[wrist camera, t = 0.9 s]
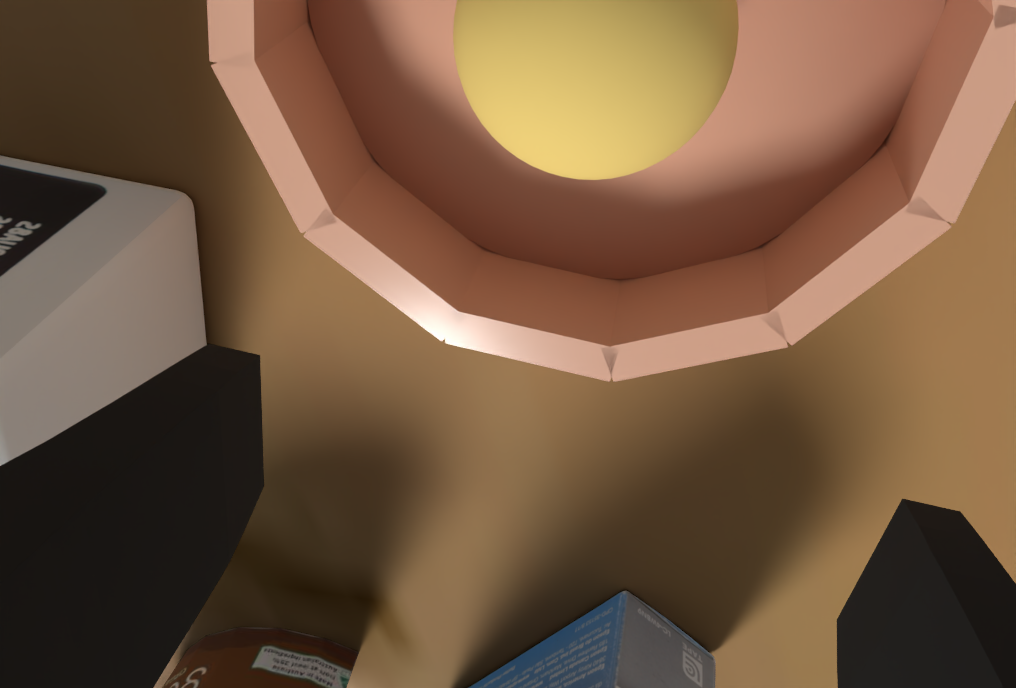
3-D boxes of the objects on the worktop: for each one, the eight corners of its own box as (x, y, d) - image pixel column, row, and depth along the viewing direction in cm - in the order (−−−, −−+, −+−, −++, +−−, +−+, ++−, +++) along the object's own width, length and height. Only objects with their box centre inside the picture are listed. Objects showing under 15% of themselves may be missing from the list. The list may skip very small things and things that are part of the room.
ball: (770, -110, 15) (788, -56, 11) (696, 144, 17) (692, 255, 14) (503, -163, 15) (438, -126, 11) (470, 95, 17) (408, 191, 14)
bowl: (1153, -383, 13) (1266, -410, 10) (831, 344, 20) (848, 438, 17) (284, -534, 13) (182, -595, 11) (280, 219, 21) (219, 289, 18)
